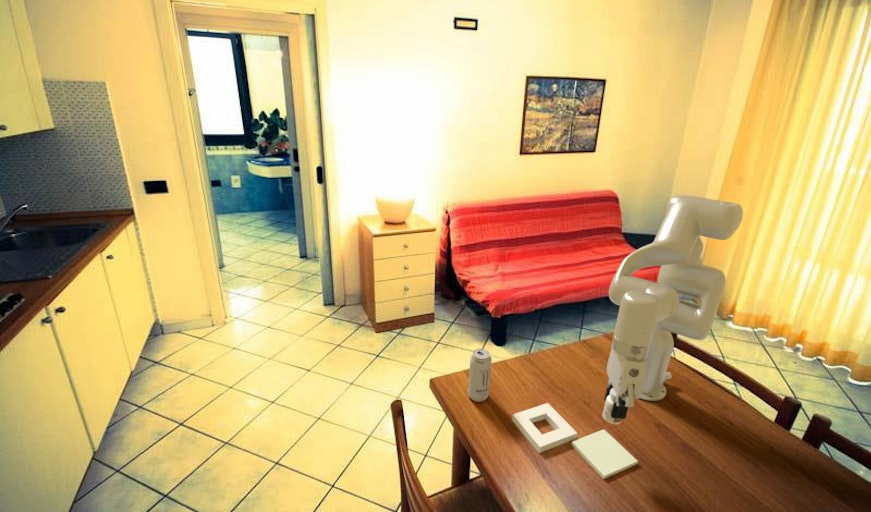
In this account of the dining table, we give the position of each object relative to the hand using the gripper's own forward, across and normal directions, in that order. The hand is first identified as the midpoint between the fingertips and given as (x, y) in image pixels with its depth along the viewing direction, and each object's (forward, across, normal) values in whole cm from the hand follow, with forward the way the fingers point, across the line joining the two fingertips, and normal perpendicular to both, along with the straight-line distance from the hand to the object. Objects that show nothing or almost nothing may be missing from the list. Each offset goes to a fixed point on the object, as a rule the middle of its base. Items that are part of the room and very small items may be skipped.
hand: (614, 408), depth 97 cm
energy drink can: (+15, +17, +32) cm, 39 cm away
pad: (+15, 0, 0) cm, 15 cm away
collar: (+15, +6, +14) cm, 21 cm away
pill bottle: (+3, 0, 0) cm, 3 cm away
